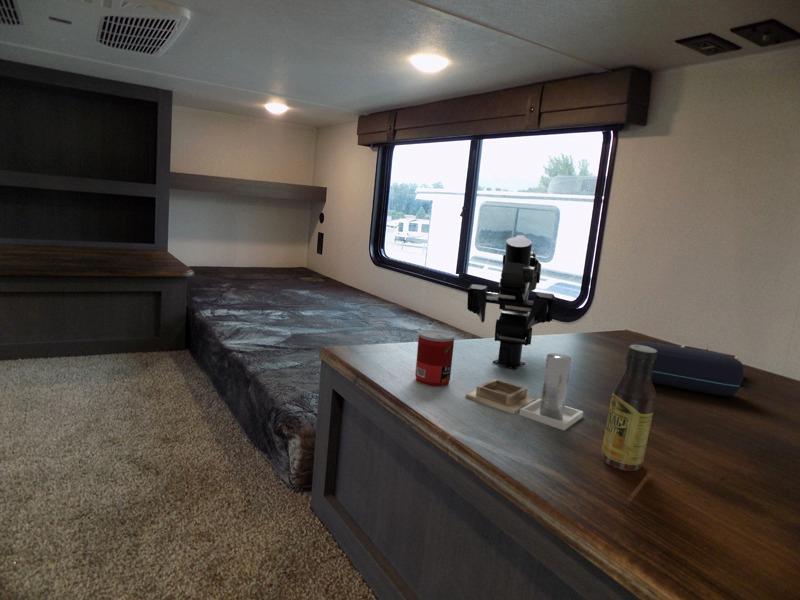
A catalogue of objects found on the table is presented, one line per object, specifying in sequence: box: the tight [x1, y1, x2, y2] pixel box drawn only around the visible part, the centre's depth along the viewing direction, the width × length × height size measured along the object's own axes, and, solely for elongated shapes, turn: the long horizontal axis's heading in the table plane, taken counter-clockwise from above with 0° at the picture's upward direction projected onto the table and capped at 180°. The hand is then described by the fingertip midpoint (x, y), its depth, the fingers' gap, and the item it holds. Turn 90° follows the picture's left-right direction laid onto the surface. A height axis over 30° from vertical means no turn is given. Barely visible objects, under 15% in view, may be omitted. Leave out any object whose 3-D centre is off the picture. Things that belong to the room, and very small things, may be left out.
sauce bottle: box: [601, 344, 657, 472], centre depth 80 cm, size 7×6×20 cm
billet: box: [539, 353, 572, 421], centre depth 98 cm, size 4×4×12 cm
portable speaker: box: [625, 340, 744, 397], centre depth 125 cm, size 25×10×10 cm, turn 65°
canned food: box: [415, 329, 455, 387], centre depth 115 cm, size 8×8×11 cm
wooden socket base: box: [465, 378, 537, 415], centre depth 106 cm, size 10×11×3 cm
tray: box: [518, 397, 584, 431], centre depth 99 cm, size 9×9×2 cm
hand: (504, 323), depth 106 cm, fingers open, 9 cm apart
